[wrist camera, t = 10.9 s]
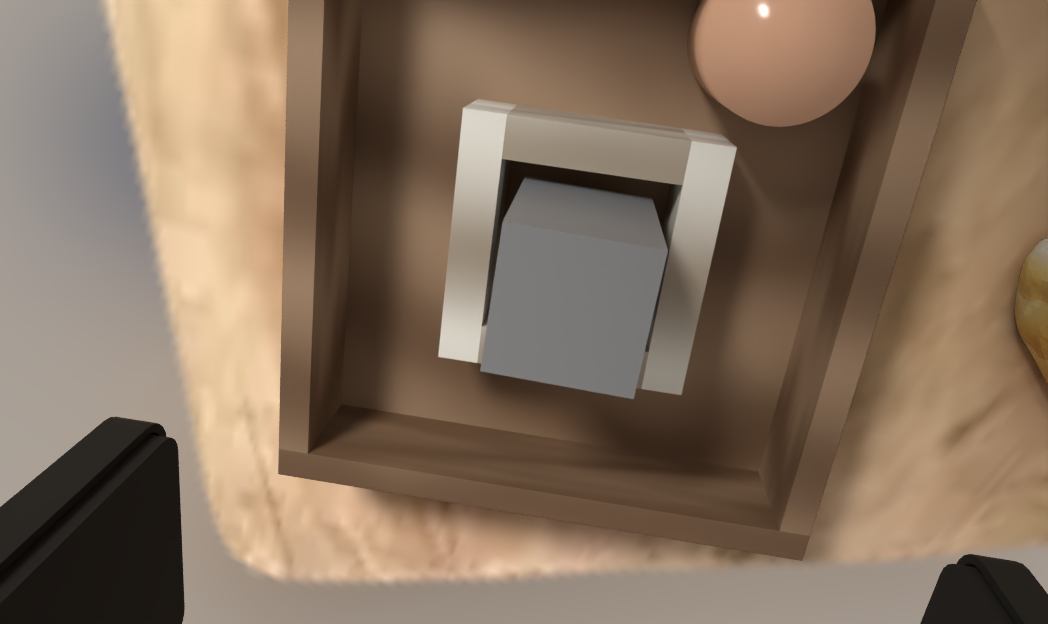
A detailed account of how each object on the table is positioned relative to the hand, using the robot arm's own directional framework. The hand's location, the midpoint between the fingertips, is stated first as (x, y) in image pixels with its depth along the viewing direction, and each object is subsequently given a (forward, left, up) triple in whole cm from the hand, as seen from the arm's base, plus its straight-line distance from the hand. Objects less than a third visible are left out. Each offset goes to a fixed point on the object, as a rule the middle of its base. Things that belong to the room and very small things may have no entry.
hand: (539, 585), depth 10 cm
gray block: (0, 0, -18) cm, 18 cm away
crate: (-1, 0, -19) cm, 19 cm away
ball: (-7, +5, -18) cm, 20 cm away
